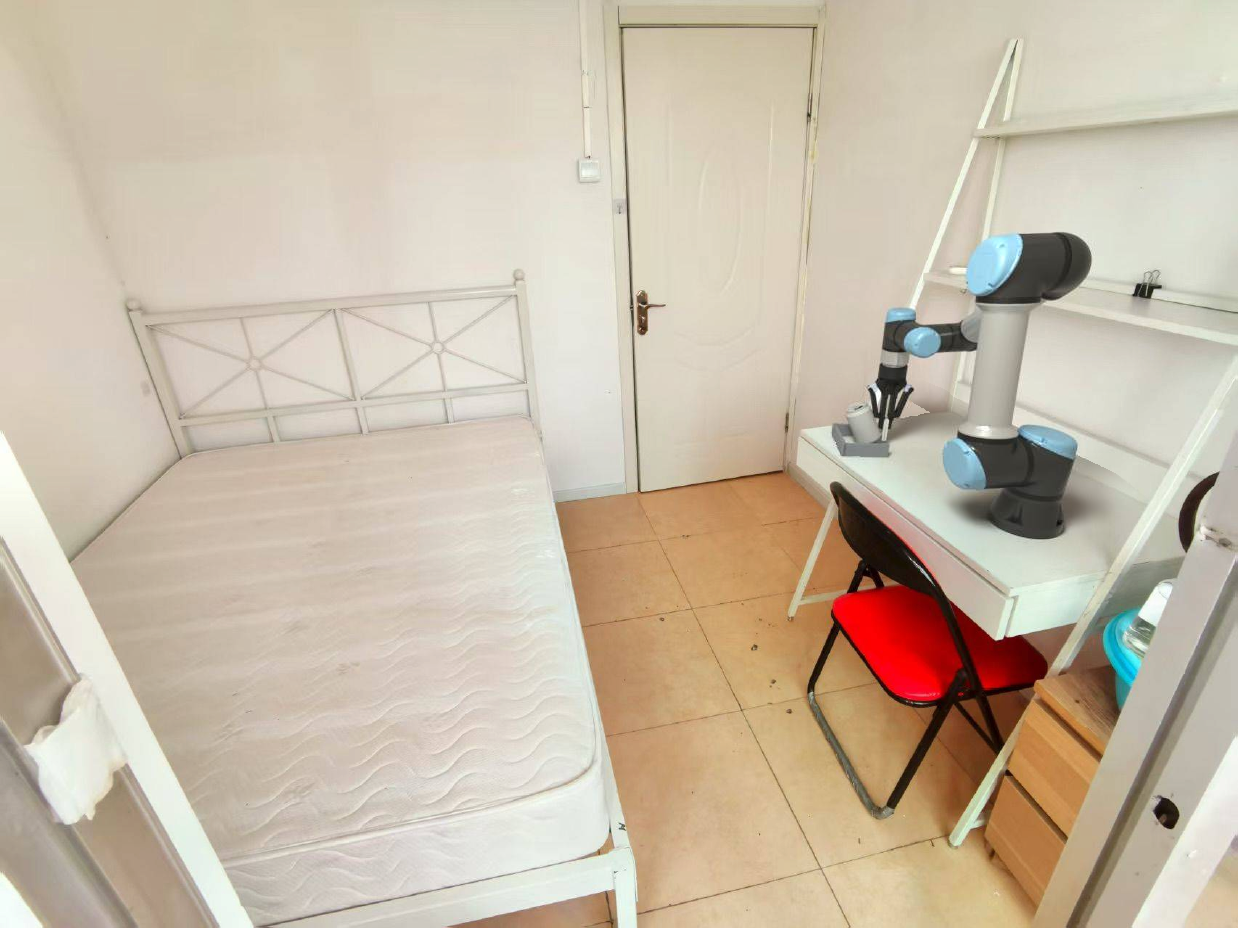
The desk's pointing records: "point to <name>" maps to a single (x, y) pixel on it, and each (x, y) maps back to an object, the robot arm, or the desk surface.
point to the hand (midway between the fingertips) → (882, 438)
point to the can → (862, 423)
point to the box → (856, 444)
